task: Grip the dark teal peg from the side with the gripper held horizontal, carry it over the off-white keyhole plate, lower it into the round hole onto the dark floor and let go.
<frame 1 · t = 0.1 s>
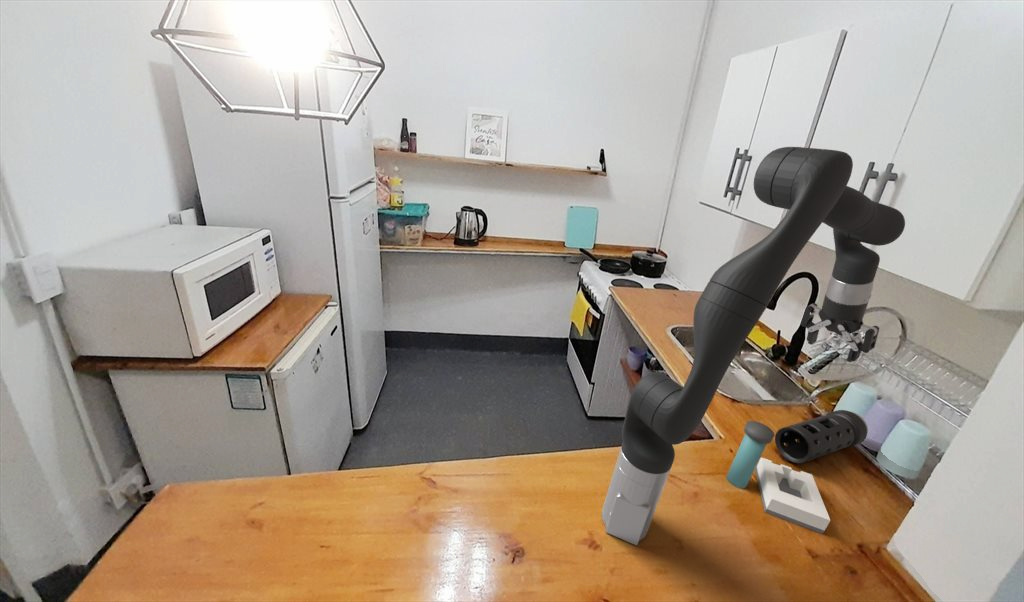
hand: (830, 351, 96), 31 cm above the countertop, tool tilted 20°, fingers open, 8 cm apart
muzzle brake: (814, 451, 111), on the countertop
peg: (736, 481, 96), on the countertop
keyhole plate: (785, 499, 93), on the countertop
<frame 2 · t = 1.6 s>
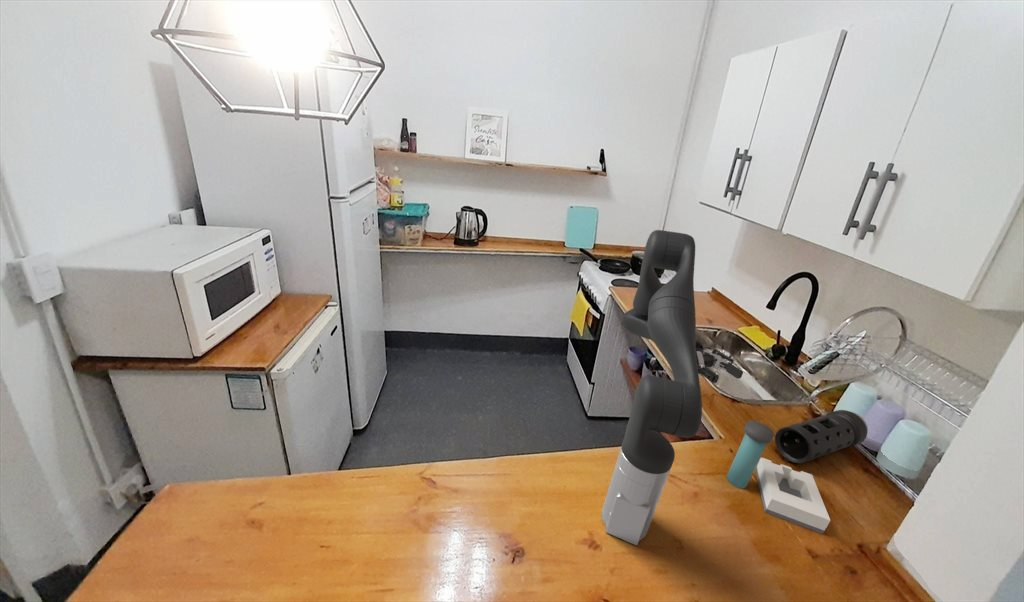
hand: (729, 377, 97), 22 cm above the countertop, tool horizontal, fingers open, 8 cm apart
nothing on the countertop moved.
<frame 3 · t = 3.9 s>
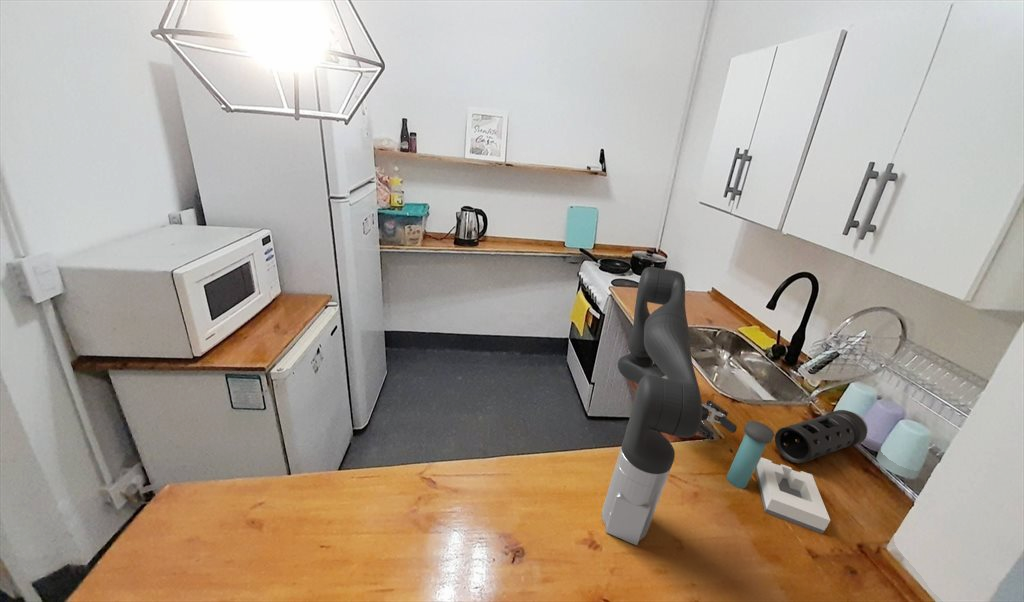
hand: (723, 433, 98), 9 cm above the countertop, tool horizontal, fingers open, 8 cm apart
nothing on the countertop moved.
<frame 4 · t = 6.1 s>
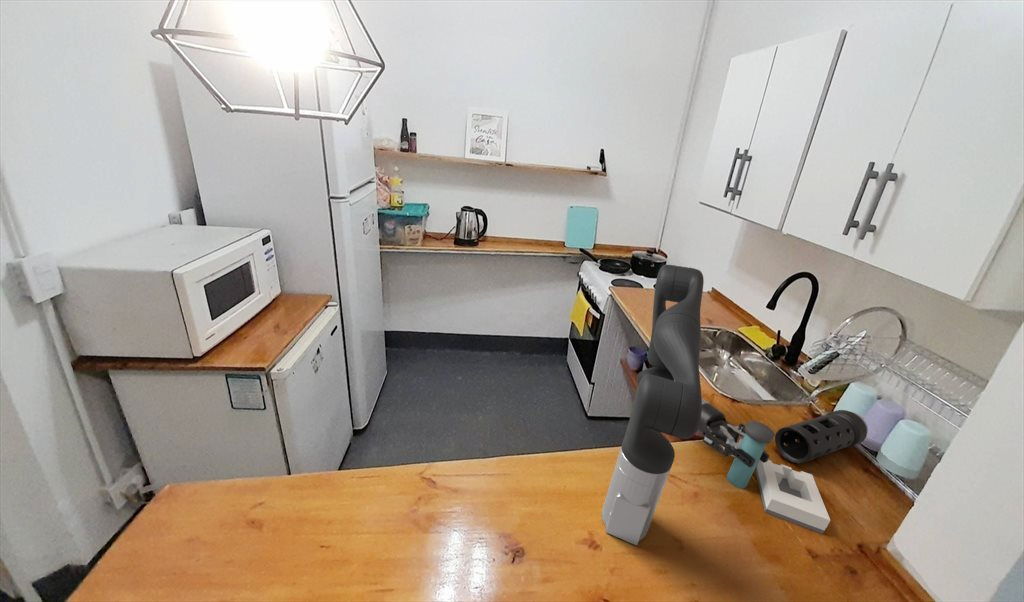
hand: (760, 461, 90), 9 cm above the countertop, tool horizontal, fingers closed on peg, 4 cm apart
peg: (736, 481, 96), on the countertop, touching gripper
everything else where it was.
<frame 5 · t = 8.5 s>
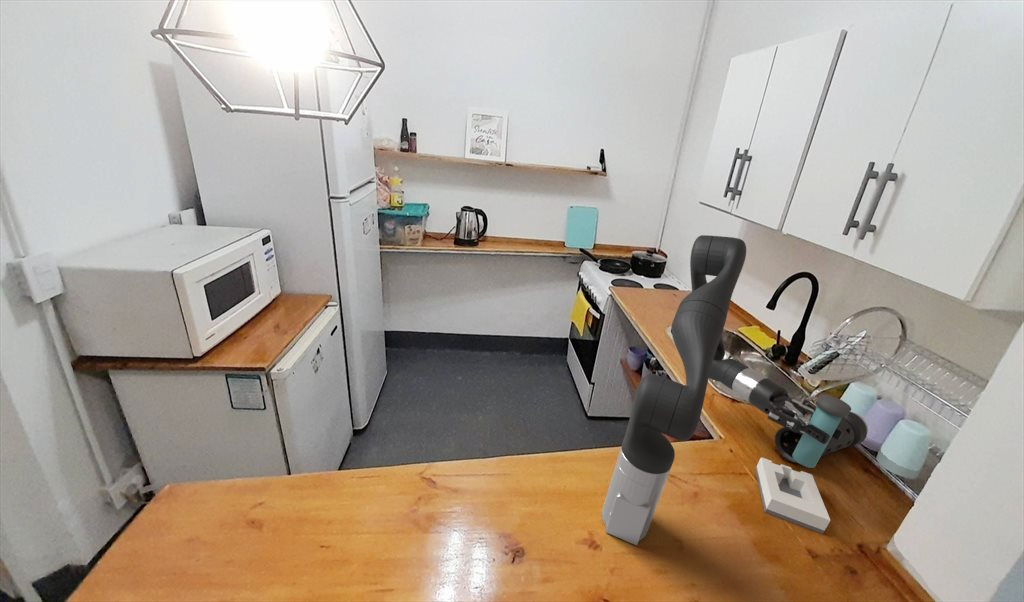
hand: (834, 437, 83), 20 cm above the countertop, tool horizontal, fingers closed on peg, 4 cm apart
peg: (803, 460, 89), point 11 cm above the countertop, touching gripper
everything else where it was.
when the fingers open (10 cm above the countertop, at t = 11.2 s): peg stays where it is, resting on keyhole plate.
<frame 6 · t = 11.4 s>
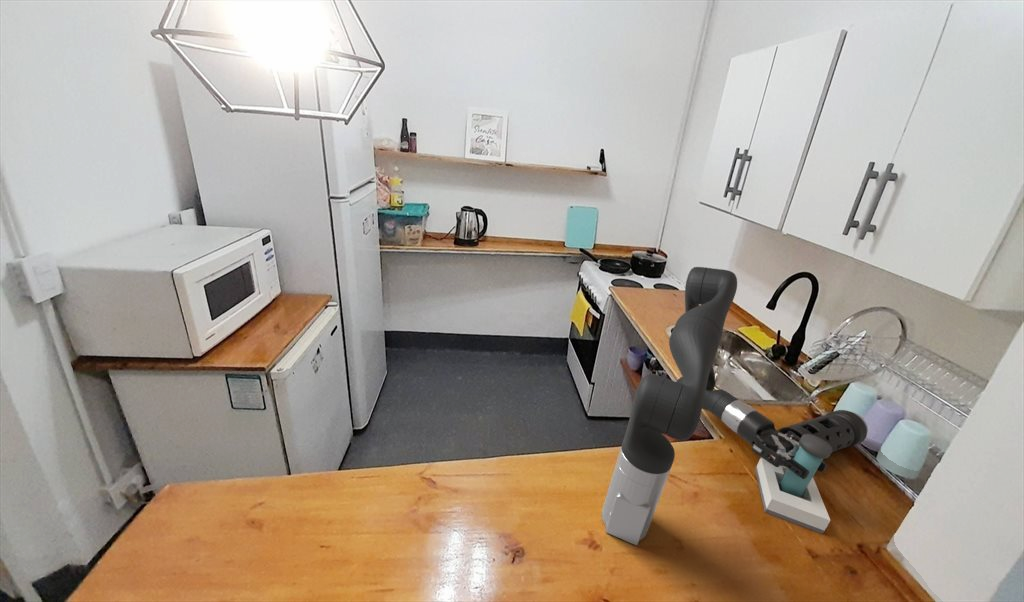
hand: (815, 472, 87), 11 cm above the countertop, tool horizontal, fingers open, 6 cm apart
peg: (787, 495, 92), point 1 cm above the countertop, touching keyhole plate
everything else where it was.
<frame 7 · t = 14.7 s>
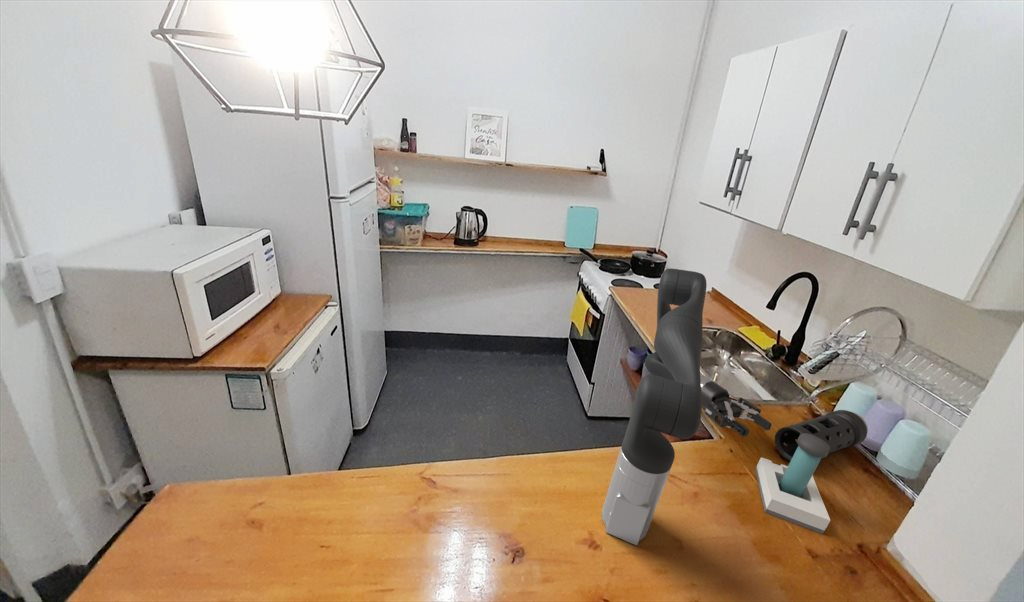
hand: (758, 430, 98), 11 cm above the countertop, tool horizontal, fingers open, 8 cm apart
nothing on the countertop moved.
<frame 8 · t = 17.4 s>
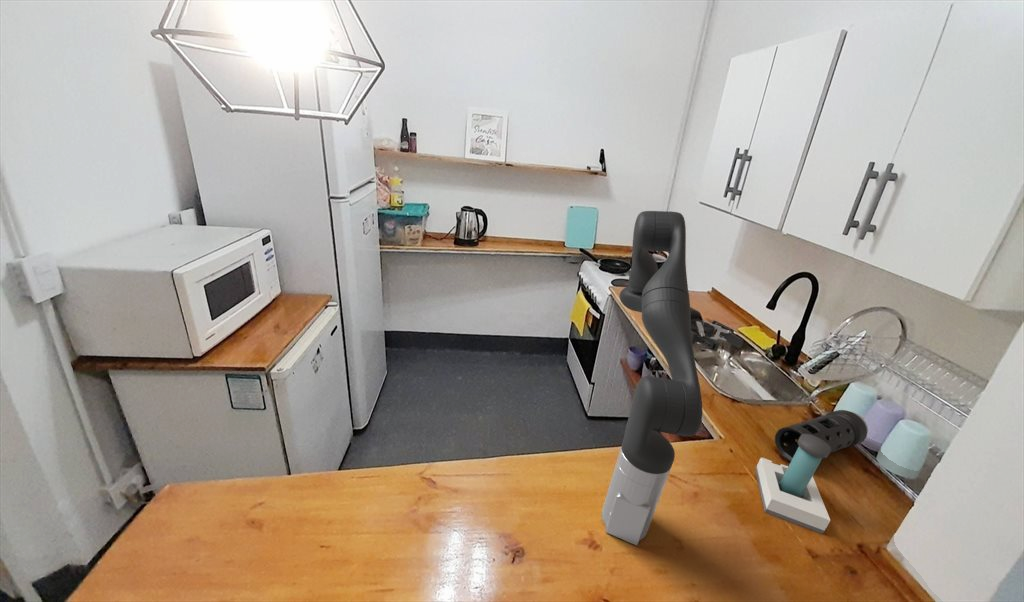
hand: (729, 346, 94), 30 cm above the countertop, tool horizontal, fingers open, 8 cm apart
nothing on the countertop moved.
at the end: peg 0.1 cm off-centre on the keyhole plate, point 1.0 cm above the keyhole plate's base; peg tilted 1°; the gripper is holding nothing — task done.
